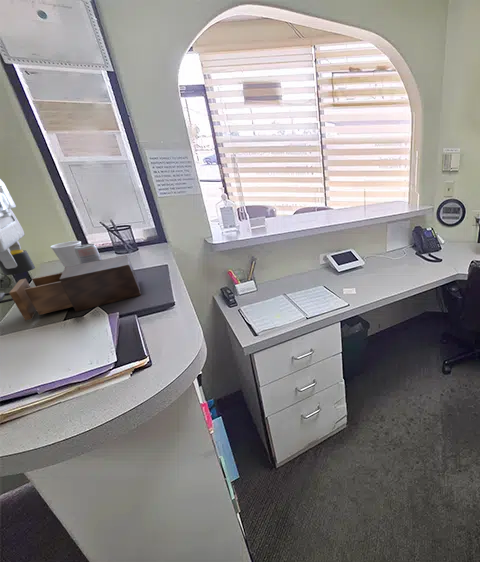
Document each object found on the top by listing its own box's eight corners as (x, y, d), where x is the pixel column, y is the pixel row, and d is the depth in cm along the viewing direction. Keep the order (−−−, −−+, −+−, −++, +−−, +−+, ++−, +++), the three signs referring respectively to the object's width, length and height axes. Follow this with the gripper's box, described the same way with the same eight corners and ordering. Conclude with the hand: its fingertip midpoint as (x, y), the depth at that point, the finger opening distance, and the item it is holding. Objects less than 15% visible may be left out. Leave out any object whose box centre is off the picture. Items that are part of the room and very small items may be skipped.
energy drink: (105, 275, 108) (91, 242, 103) (112, 278, 105) (97, 244, 100) (86, 281, 104) (70, 247, 99) (93, 284, 101) (77, 249, 96)
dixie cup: (65, 269, 117) (53, 243, 113) (93, 264, 121) (82, 239, 117) (60, 275, 111) (47, 248, 107) (90, 269, 115) (78, 244, 111)
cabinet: (75, 311, 83) (59, 279, 79) (79, 296, 92) (65, 266, 88) (141, 295, 91) (129, 264, 87) (138, 282, 100) (127, 254, 96)
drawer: (-1, 327, 75) (-19, 298, 72) (10, 310, 83) (-5, 284, 80) (94, 303, 85) (81, 277, 82) (95, 290, 93) (84, 266, 90)
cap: (1, 276, 68) (-10, 257, 66) (7, 271, 72) (-4, 252, 70) (33, 270, 71) (23, 252, 69) (37, 265, 74) (27, 247, 73)
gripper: (-24, 199, 71) (8, 256, 76) (-62, 210, 56) (-19, 280, 61) (15, 196, 74) (43, 251, 80) (-11, 205, 59) (26, 271, 65)
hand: (16, 264), depth 70 cm, fingers closed on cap, 5 cm apart
